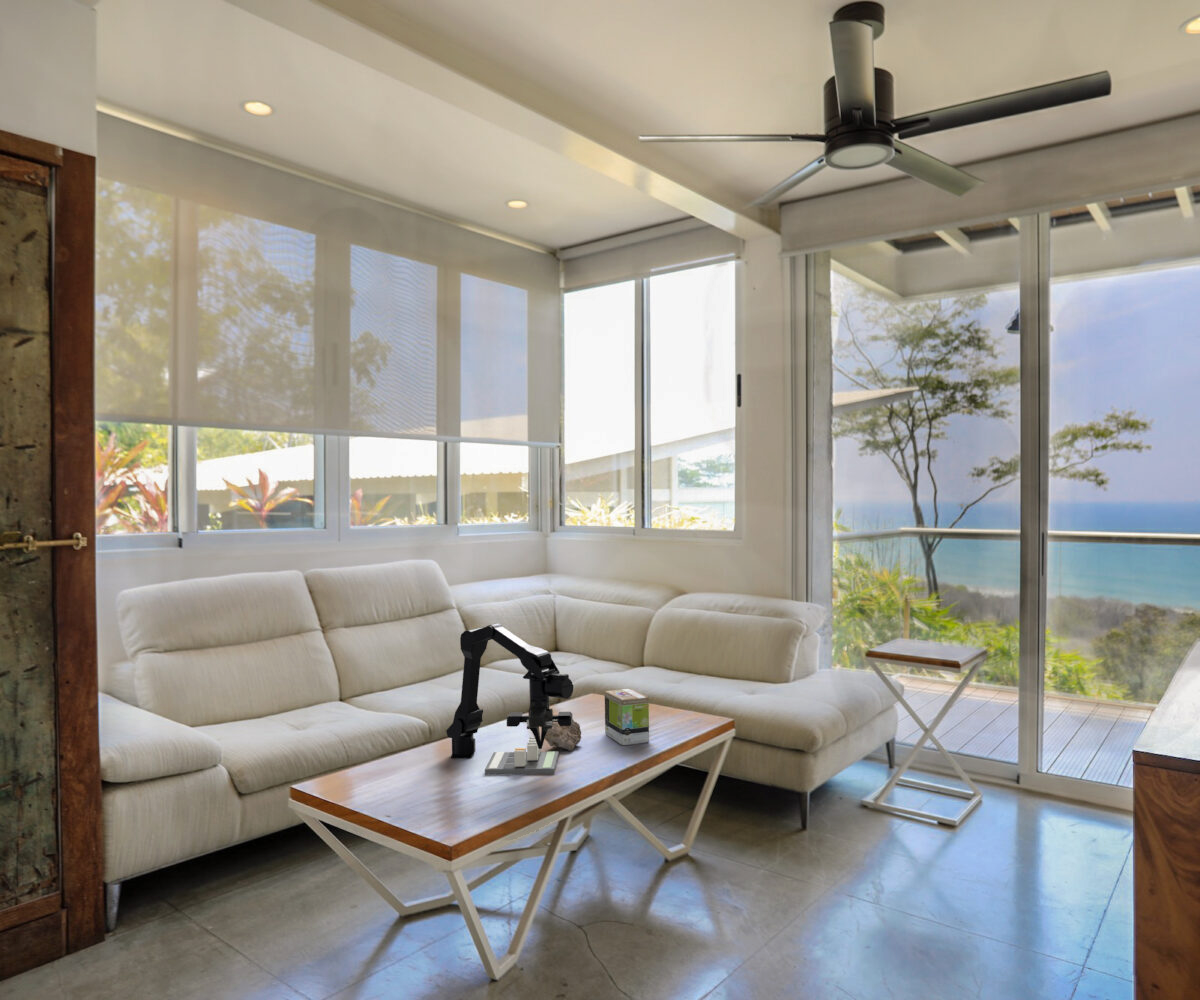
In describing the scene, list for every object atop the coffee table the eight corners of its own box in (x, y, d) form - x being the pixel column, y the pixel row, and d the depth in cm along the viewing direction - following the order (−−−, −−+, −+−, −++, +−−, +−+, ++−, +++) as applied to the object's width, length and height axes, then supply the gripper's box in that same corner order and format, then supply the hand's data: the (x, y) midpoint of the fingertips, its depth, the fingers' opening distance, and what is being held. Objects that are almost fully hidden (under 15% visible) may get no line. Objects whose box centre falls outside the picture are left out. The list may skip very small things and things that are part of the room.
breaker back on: (529, 754, 248) (529, 739, 248) (530, 751, 251) (530, 736, 251) (539, 754, 248) (538, 739, 248) (540, 751, 251) (540, 736, 251)
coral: (565, 755, 253) (552, 725, 254) (546, 760, 258) (533, 731, 259) (592, 738, 263) (580, 709, 264) (574, 743, 269) (562, 714, 270)
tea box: (650, 742, 264) (649, 696, 264) (621, 746, 261) (620, 699, 261) (631, 730, 278) (630, 687, 278) (604, 734, 275) (603, 690, 275)
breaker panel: (484, 774, 236) (484, 768, 236) (493, 757, 252) (493, 751, 252) (554, 773, 236) (554, 768, 236) (558, 756, 252) (558, 751, 252)
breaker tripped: (514, 766, 237) (514, 750, 237) (516, 763, 240) (515, 747, 240) (525, 766, 237) (524, 750, 237) (526, 763, 240) (525, 747, 240)
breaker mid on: (527, 760, 242) (526, 744, 242) (528, 757, 245) (528, 741, 245) (537, 760, 242) (537, 744, 242) (538, 757, 245) (538, 741, 245)
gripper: (503, 702, 231) (504, 757, 231) (569, 701, 230) (570, 757, 230) (508, 692, 242) (509, 745, 242) (572, 692, 241) (573, 745, 241)
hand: (540, 748), depth 238 cm, fingers closed
